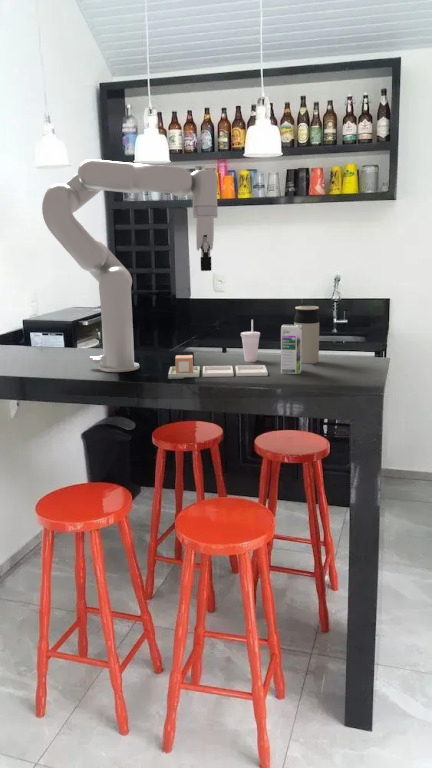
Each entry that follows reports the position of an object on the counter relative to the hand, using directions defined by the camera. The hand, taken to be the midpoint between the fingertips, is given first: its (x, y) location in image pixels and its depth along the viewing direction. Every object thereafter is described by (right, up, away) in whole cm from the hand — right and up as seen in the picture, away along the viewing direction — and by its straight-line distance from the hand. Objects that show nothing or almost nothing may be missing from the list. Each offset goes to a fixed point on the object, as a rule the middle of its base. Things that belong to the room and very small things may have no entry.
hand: (206, 270), depth 201 cm
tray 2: (+4, -32, -6) cm, 33 cm away
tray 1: (-6, -33, -6) cm, 34 cm away
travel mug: (+32, -28, +11) cm, 44 cm away
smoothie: (+14, -28, +13) cm, 34 cm away
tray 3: (+14, -32, -6) cm, 35 cm away
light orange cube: (-6, -32, -6) cm, 33 cm away
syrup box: (+26, -32, -6) cm, 42 cm away
